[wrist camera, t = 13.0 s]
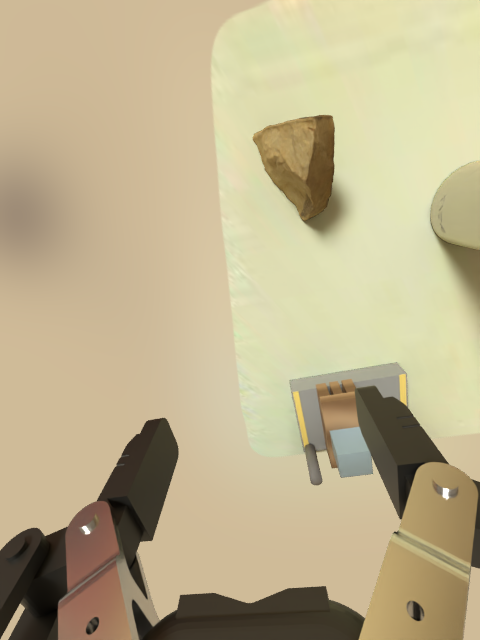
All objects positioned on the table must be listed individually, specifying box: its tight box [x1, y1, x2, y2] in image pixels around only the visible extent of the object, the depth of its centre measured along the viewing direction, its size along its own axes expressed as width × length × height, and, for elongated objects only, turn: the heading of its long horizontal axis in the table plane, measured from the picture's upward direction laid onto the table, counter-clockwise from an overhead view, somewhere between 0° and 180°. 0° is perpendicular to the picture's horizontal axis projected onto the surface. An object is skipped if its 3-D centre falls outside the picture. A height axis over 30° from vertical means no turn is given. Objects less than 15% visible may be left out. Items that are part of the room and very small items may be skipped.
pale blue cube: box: [330, 427, 373, 478], centre depth 37 cm, size 4×4×4 cm
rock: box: [253, 115, 335, 221], centre depth 31 cm, size 11×9×10 cm
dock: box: [289, 362, 408, 485], centre depth 41 cm, size 16×12×9 cm
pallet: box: [316, 379, 359, 468], centre depth 41 cm, size 12×5×4 cm, turn 14°
